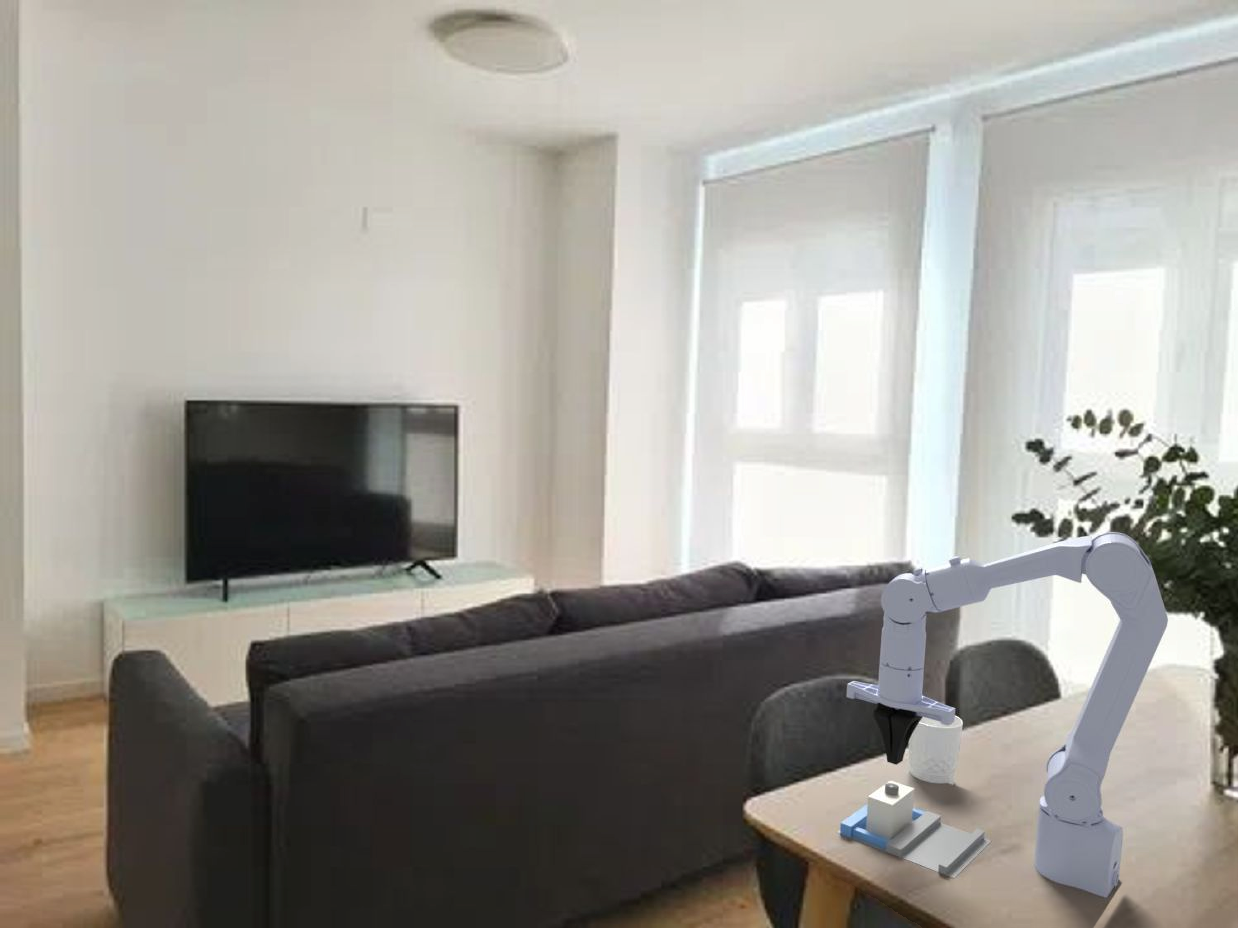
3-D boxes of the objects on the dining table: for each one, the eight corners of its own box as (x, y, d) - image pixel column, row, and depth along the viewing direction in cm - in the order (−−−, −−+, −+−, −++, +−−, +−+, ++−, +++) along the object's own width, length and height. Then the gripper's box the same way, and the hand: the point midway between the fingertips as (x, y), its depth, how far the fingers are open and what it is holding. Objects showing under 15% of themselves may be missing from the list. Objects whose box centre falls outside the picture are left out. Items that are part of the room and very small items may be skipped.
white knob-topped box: (911, 822, 128) (914, 781, 127) (890, 841, 123) (893, 798, 122) (887, 814, 130) (890, 774, 130) (865, 831, 125) (868, 789, 124)
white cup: (923, 793, 140) (928, 729, 139) (895, 770, 147) (899, 710, 146) (968, 788, 142) (973, 725, 141) (938, 767, 150) (942, 707, 149)
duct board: (991, 847, 124) (992, 829, 124) (953, 885, 114) (954, 866, 114) (879, 807, 134) (880, 791, 134) (836, 839, 125) (837, 821, 124)
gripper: (966, 670, 123) (959, 768, 124) (865, 645, 132) (859, 737, 133) (945, 682, 117) (938, 785, 119) (841, 655, 127) (835, 751, 128)
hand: (894, 761), depth 126 cm, fingers closed
